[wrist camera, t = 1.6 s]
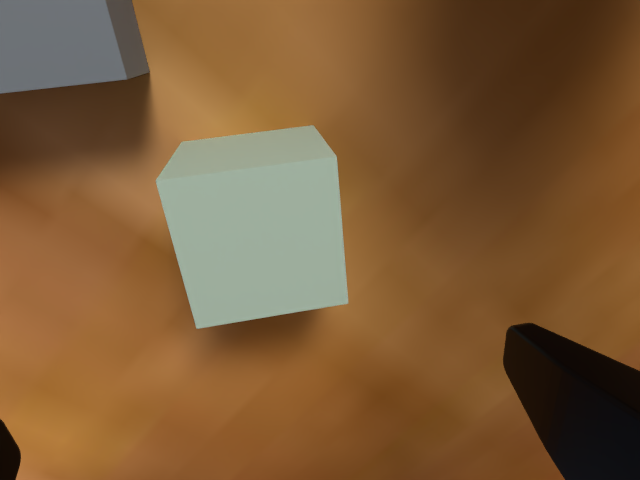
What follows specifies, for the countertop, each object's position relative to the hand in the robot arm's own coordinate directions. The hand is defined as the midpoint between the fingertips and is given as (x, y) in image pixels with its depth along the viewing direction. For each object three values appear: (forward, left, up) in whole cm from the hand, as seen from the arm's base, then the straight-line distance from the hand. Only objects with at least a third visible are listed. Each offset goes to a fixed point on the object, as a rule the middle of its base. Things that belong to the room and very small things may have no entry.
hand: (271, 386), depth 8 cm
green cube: (0, 0, -11) cm, 11 cm away
